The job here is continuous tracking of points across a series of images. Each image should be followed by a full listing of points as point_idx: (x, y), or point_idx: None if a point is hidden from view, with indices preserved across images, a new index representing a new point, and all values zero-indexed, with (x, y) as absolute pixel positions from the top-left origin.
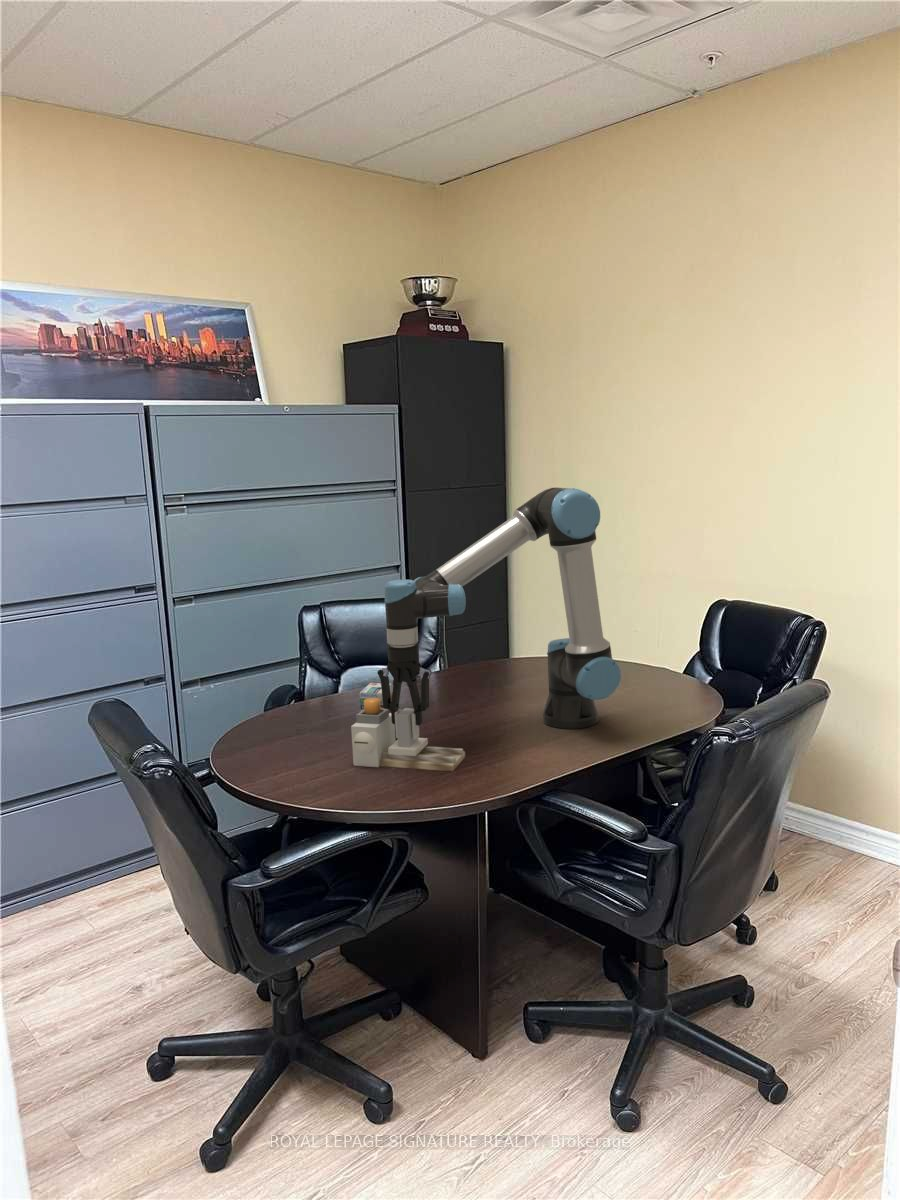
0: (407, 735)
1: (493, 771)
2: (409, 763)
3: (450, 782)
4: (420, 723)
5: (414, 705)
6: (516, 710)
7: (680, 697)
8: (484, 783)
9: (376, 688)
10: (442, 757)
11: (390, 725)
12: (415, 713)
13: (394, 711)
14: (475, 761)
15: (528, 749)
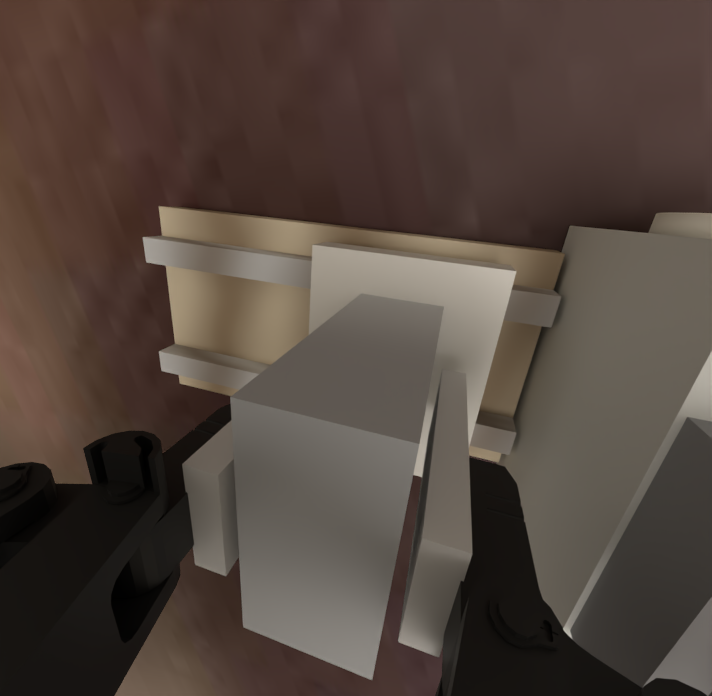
0: (346, 317)
1: (55, 227)
2: (373, 230)
3: (137, 47)
4: (221, 413)
5: (65, 573)
6: (206, 692)
7: None
8: (19, 72)
9: None
10: (195, 247)
11: (541, 548)
12: (150, 448)
13: (483, 594)
14: (150, 331)
15: (62, 432)
